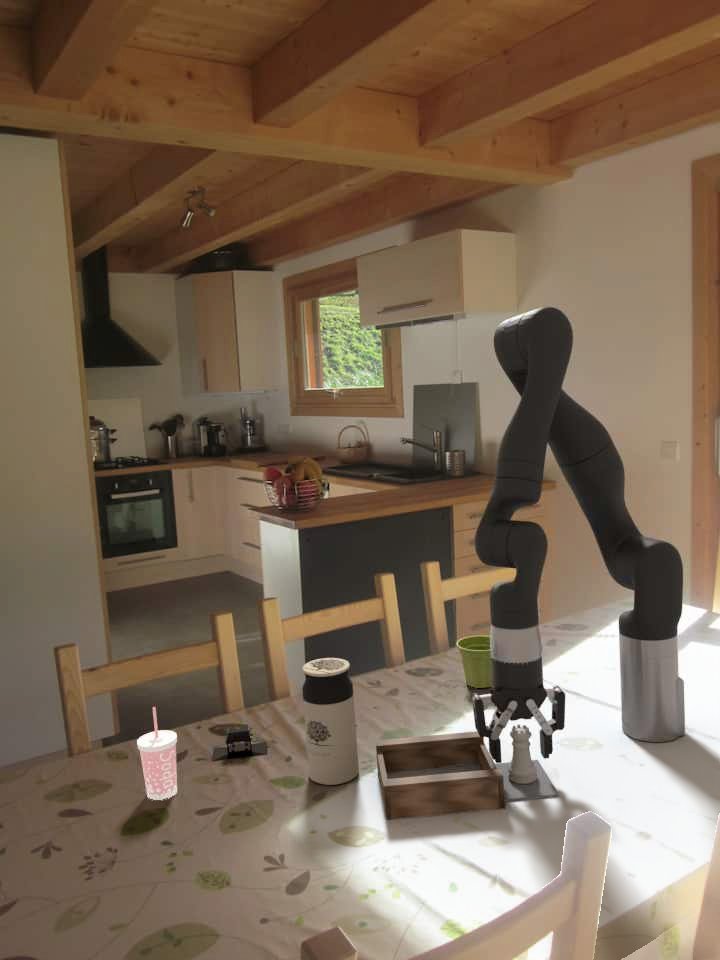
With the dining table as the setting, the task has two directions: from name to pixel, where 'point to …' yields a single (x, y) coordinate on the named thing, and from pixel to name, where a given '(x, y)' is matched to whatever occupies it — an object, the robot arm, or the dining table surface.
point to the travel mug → (330, 721)
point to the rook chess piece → (521, 757)
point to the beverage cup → (159, 762)
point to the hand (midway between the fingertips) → (521, 758)
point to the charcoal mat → (527, 785)
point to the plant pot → (476, 660)
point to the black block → (239, 745)
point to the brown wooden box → (438, 776)
